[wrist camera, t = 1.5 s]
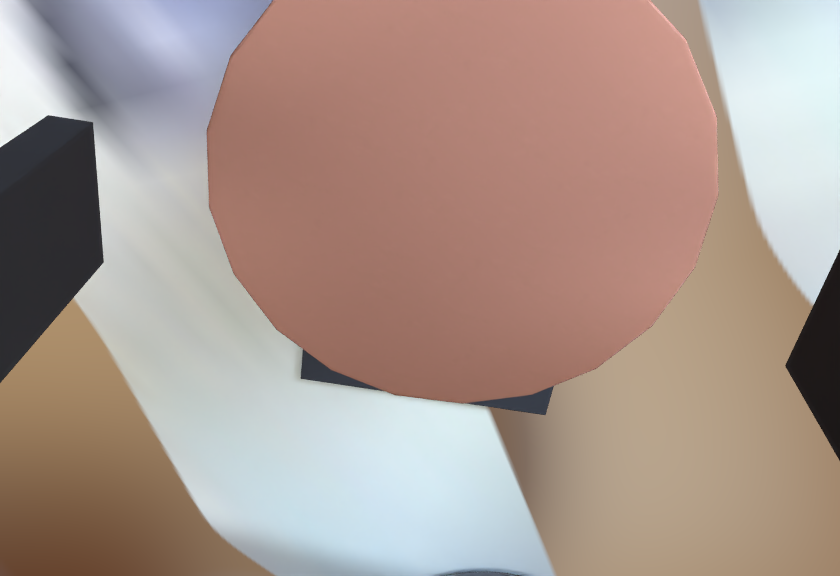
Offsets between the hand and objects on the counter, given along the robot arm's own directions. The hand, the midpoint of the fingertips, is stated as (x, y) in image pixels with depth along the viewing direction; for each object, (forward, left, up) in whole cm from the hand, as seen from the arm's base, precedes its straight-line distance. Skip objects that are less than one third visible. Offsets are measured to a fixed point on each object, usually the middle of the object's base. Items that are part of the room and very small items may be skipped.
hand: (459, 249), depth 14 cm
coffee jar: (0, 0, -21) cm, 21 cm away
